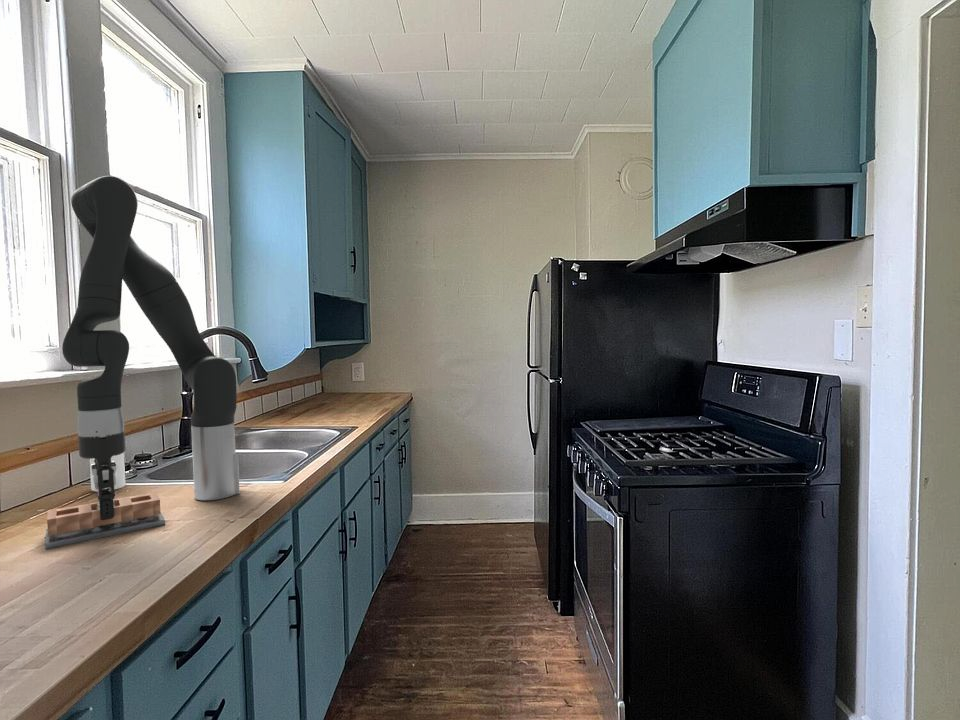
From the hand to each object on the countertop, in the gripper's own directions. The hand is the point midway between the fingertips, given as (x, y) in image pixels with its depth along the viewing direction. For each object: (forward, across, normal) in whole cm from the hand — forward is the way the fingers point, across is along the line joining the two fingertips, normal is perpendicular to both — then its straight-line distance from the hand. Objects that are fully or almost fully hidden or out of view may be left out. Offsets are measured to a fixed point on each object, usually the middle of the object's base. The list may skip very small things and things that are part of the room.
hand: (106, 513), depth 107 cm
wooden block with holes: (+1, 0, 0) cm, 1 cm away
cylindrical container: (+3, -35, +2) cm, 35 cm away
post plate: (+3, 0, 0) cm, 3 cm away
